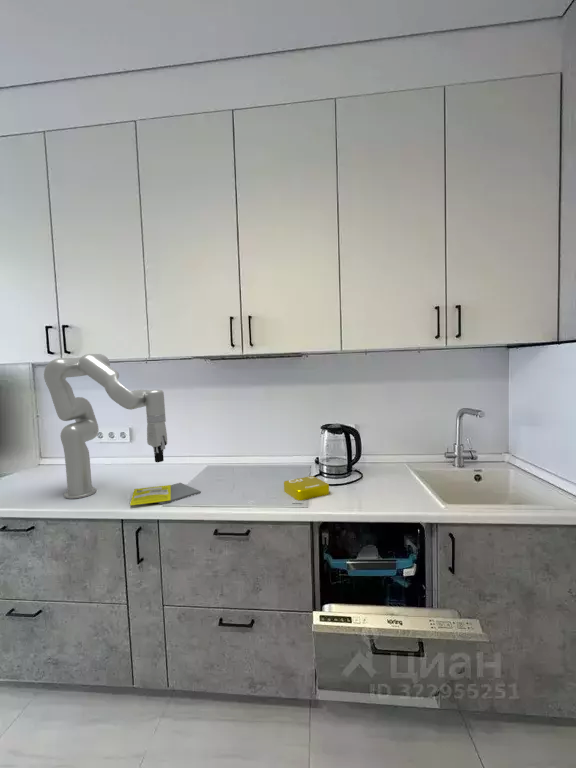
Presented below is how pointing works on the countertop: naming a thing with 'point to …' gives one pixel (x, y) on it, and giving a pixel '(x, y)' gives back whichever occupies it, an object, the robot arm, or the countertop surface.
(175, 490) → the mat
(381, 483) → the countertop surface
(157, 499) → the food package
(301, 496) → the element tile
